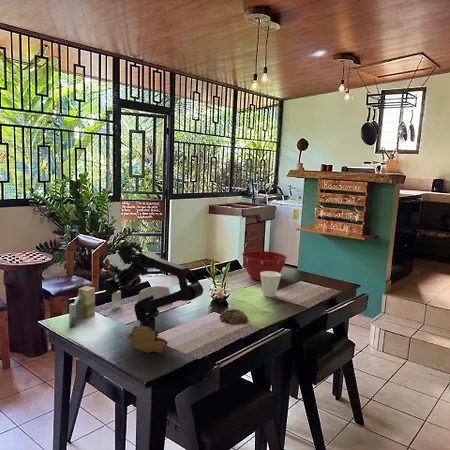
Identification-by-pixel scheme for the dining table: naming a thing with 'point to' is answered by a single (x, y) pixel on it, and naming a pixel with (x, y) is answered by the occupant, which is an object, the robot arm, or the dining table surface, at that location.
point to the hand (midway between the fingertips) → (112, 292)
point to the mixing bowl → (262, 262)
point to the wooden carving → (146, 340)
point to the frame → (115, 304)
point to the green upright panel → (76, 308)
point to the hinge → (154, 292)
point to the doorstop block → (86, 301)
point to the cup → (270, 282)
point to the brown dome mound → (233, 316)
